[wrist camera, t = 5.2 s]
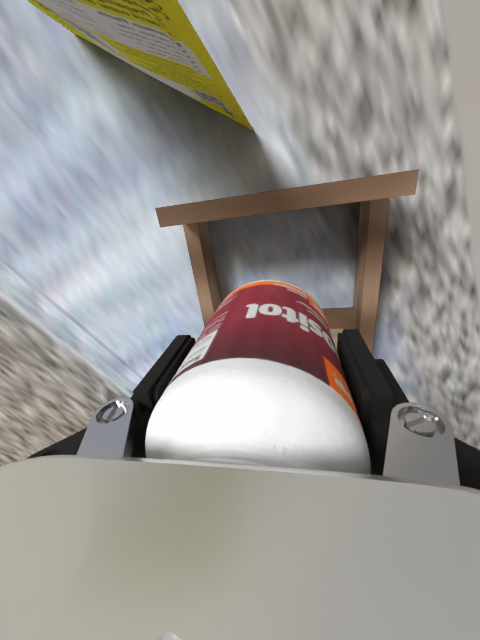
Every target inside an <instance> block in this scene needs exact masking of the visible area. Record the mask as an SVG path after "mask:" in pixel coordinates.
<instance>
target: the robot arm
mask: <svg viewBox="0 0 480 640" xmlns="http://www.w3.org/2000/svg"><path fill="white" fill-rule="evenodd" d="M195 343H196V342H195V339H194V338H191V336H190V335H178V336H176V338H175V339H174V340H173V341H172V343H171V344H170V345H169V347H168V348H167V349H166V350H165V352H164V353H163V354H162V355H161V357H160V358H159V359H158V360H157V362H156V363H155V364H154V365H153V367H152V368H151V369H150V371H149V372H148V373H147V374H146V376H145V377H144V378H143V379H142V381H141V382H140V383H139V384H138V386H137V387H136V388H135V389H134V391H133V393H134V394H133V396H132V397H131V398H130V399H129V398H117V399H114V400H111V401H109V402H107V403H105V404H103V405H102V406H101V407H99V408H98V409H97V410H96V411H95V412H94V414H93V416H92V418H91V420H90V423H89V425H88V427H87V428H85V429H83V430H81V431H79V432H77V433H75V434H73V435H71V436H69V437H67V438H65V439H63V440H61V441H59V442H57V443H55V444H53V445H51V446H49V447H47V448H45V449H43V450H41V451H39V452H37V453H35V454H33V455H31V456H30V457H28V458H27V459H24V460H20V461H17V462H13V463H10V464H6V465H3V466H0V640H480V450H478V449H476V448H474V447H472V446H470V445H468V444H466V443H464V442H462V441H460V440H458V439H456V438H454V434H453V428H452V426H451V423H450V422H449V421H448V420H447V418H446V417H445V416H443V415H442V414H441V413H440V412H438V411H436V410H434V409H432V408H431V407H428V406H425V405H422V404H418V403H409V401H408V399H407V398H406V396H405V394H404V393H403V391H402V389H401V388H400V386H399V384H398V383H397V381H396V379H395V378H394V376H393V374H392V373H391V371H390V370H389V368H388V366H387V365H386V363H385V361H384V360H382V359H374V358H373V356H372V354H371V352H370V350H369V349H368V347H367V345H366V343H365V341H364V339H363V338H362V336H361V334H360V332H359V330H358V329H343V331H342V333H338V336H337V353H338V355H339V359H340V362H341V366H342V369H343V371H344V374H345V377H346V380H347V383H348V386H349V389H350V392H351V395H352V398H353V401H354V404H355V407H356V410H357V414H358V416H359V419H360V422H361V425H362V428H363V431H364V435H365V438H366V442H367V445H368V449H369V455H370V464H371V475H370V474H359V473H348V472H335V471H321V470H308V469H295V468H282V467H268V466H254V465H240V464H226V463H211V462H197V461H182V460H166V459H151V458H146V451H145V439H146V431H147V426H148V422H149V419H150V417H151V414H152V412H153V410H154V408H155V406H156V404H157V402H158V401H159V399H160V398H161V396H162V395H163V392H164V390H165V389H166V387H167V386H168V385H169V383H170V381H171V380H172V379H173V377H174V376H175V374H176V372H177V371H178V369H179V368H180V366H181V365H182V363H183V361H184V360H185V358H186V357H187V355H188V354H189V352H190V351H191V349H192V347H193V346H194V344H195Z"/></svg>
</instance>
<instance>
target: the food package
mask: <svg viewBox="0 0 480 640" xmlns="http://www.w3.org/2000/svg"><path fill="white" fill-rule="evenodd" d="M28 1H29V2H30V3H32V4H33V5H34V6H36V7H37V8H38V9H40V10H41V11H43V12H44V13H45V14H47V15H48V16H50V17H51V18H53V19H54V20H55V21H57V22H58V23H60V24H62V26H64V27H66V28H67V29H68V30H70V31H71V32H72V33H75V34H76V35H77V36H80V37H82V38H83V39H85V40H87V41H89V42H91V43H93V44H95V45H97V46H98V47H100V48H102V49H104V50H105V51H107V52H109V53H110V54H112V55H114V56H116V57H117V58H119V59H121V60H123V61H124V62H126V63H128V64H130V65H132V66H133V67H135V68H137V69H139V70H141V71H143V72H144V73H146V74H148V75H150V76H152V77H154V78H155V79H157V80H159V81H161V82H163V83H165V84H167V85H168V86H170V87H172V88H174V89H176V90H178V91H179V92H181V93H183V94H185V95H187V96H189V97H190V98H192V99H194V100H196V101H198V102H200V103H202V104H204V105H206V106H207V107H209V108H211V109H213V110H215V111H217V112H219V113H221V114H223V115H225V116H227V117H229V118H231V119H233V120H235V121H236V122H238V123H240V124H242V125H243V126H246V127H247V128H249V129H251V130H253V131H254V129H253V127H252V126H251V125H250V123H249V122H248V120H247V118H246V116H245V115H244V113H243V111H242V109H241V108H240V106H239V104H238V103H237V101H236V99H235V97H234V96H233V94H232V92H231V91H230V89H229V87H228V86H227V84H226V82H225V80H224V79H223V77H222V75H221V74H220V72H219V70H218V69H217V67H216V65H215V63H214V62H213V60H212V58H211V57H210V55H209V53H208V52H207V50H206V48H205V46H204V45H203V43H202V41H201V40H200V38H199V36H198V35H197V33H196V31H195V30H194V28H193V26H192V25H191V23H190V21H189V19H188V18H187V16H186V14H185V13H184V11H183V9H182V8H181V6H180V4H179V3H178V1H177V0H28Z"/></svg>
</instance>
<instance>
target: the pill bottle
mask: <svg viewBox="0 0 480 640" xmlns="http://www.w3.org/2000/svg"><path fill="white" fill-rule="evenodd" d="M145 451H146V458H151V459H166V460H182V461H197V462H211V463H226V464H240V465H254V466H268V467H282V468H295V469H308V470H321V471H335V472H348V473H359V474H370V475H371V464H370V455H369V449H368V445H367V442H366V438H365V435H364V431H363V428H362V425H361V422H360V419H359V416H358V414H357V410H356V407H355V404H354V401H353V398H352V395H351V392H350V389H349V386H348V383H347V380H346V377H345V374H344V371H343V369H342V366H341V362H340V359H339V355H338V353H337V350H336V347H335V344H334V342H333V339H332V335H331V332H330V329H329V326H328V323H327V320H326V318H325V315H324V313H323V311H322V309H321V308H320V306H319V305H318V303H317V302H316V301H315V300H314V299H313V298H312V297H311V296H310V295H309V294H308V293H307V292H305V291H304V290H302V289H301V288H299V287H297V286H295V285H293V284H290V283H286V282H283V281H278V280H259V281H254V282H250V283H247V284H245V285H242V286H240V287H239V288H237V289H235V290H234V291H233V292H231V293H230V294H229V295H228V296H227V297H226V298H225V299H224V300H223V301H222V303H221V304H220V305H219V307H218V308H217V310H216V312H215V313H214V315H213V316H212V318H211V319H210V321H209V322H208V324H207V326H206V327H205V329H204V330H203V332H202V333H201V335H200V337H199V338H198V340H197V341H196V343H195V344H194V346H193V347H192V349H191V351H190V352H189V354H188V355H187V357H186V358H185V360H184V361H183V363H182V365H181V366H180V368H179V369H178V371H177V372H176V374H175V376H174V377H173V379H172V380H171V381H170V383H169V385H168V386H167V387H166V389H165V390H164V392H163V395H162V396H161V398H160V399H159V401H158V402H157V404H156V406H155V408H154V410H153V412H152V414H151V417H150V419H149V422H148V426H147V431H146V439H145Z"/></svg>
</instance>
